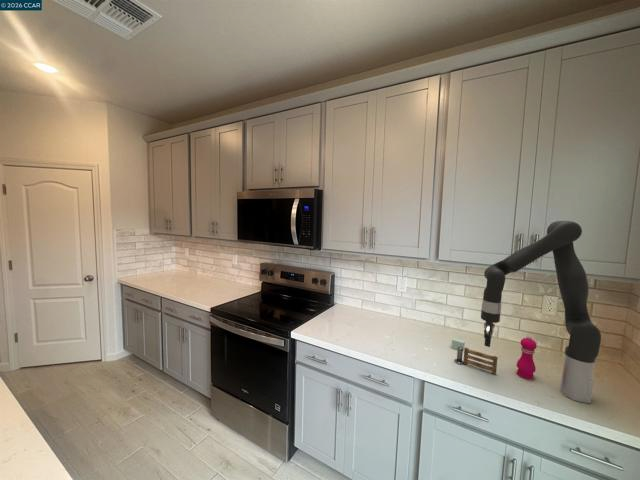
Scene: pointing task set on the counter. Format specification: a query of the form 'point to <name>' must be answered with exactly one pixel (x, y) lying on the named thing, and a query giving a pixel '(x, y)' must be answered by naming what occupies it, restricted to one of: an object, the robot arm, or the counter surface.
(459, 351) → the hinge post
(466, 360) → the gate
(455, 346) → the block
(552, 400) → the counter surface
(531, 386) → the counter surface
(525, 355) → the pepper mill
